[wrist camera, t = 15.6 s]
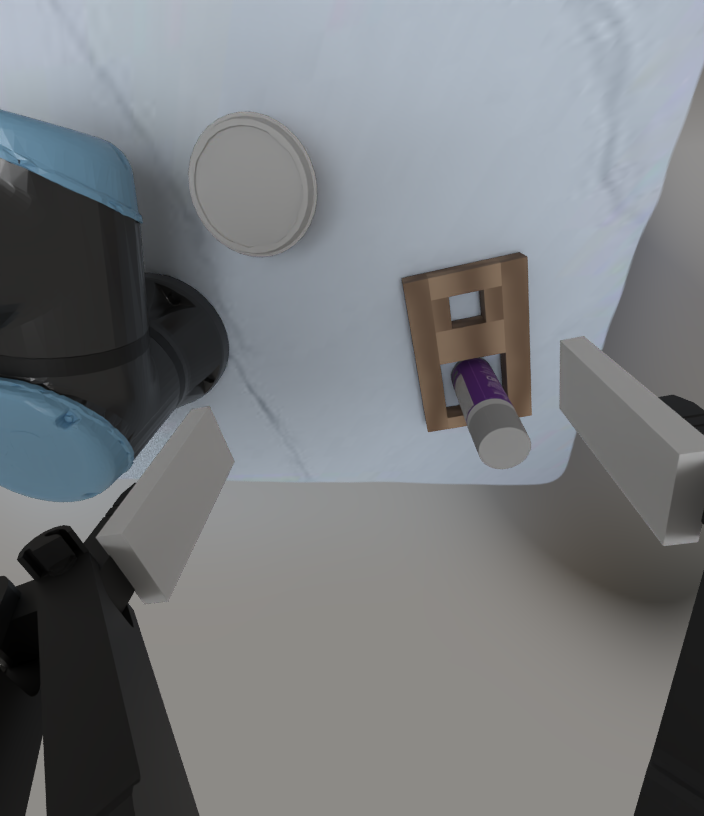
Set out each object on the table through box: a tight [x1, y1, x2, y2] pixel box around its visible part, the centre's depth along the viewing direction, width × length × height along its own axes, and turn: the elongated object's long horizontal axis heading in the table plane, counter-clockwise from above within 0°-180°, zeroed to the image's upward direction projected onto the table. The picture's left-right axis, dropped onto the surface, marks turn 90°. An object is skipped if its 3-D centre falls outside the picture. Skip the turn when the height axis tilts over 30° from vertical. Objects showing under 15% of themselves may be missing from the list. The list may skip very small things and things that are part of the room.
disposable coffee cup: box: [188, 112, 317, 257], centre depth 36 cm, size 10×10×12 cm
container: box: [451, 357, 531, 469], centre depth 43 cm, size 5×5×15 cm
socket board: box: [402, 252, 532, 432], centre depth 47 cm, size 12×18×2 cm, turn 13°
